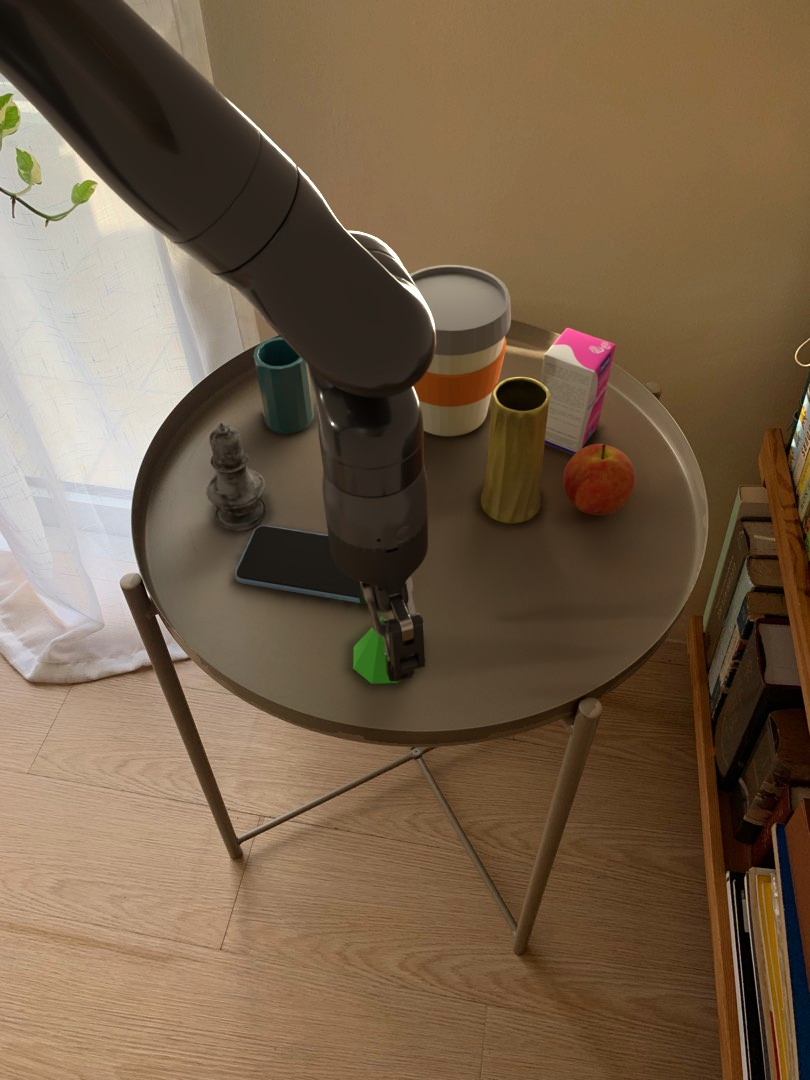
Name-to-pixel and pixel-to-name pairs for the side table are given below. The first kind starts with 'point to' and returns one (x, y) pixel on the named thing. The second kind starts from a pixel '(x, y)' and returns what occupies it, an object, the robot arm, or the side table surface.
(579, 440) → the supplement box
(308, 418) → the teal cup
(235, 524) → the chess piece
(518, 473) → the vase
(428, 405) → the reusable coffee cup
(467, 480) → the side table surface
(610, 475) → the fruit
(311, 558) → the smartphone
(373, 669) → the gemstone
